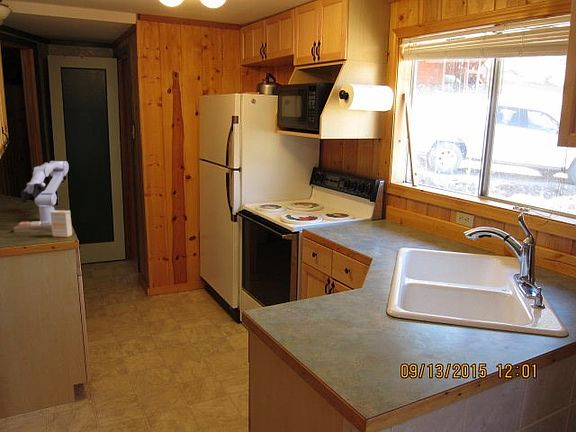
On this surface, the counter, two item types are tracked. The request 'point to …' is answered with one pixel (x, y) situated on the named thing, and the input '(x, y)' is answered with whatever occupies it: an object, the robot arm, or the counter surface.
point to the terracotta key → (24, 224)
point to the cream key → (35, 223)
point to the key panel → (33, 228)
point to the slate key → (46, 223)
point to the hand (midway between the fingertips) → (28, 199)
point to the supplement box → (61, 223)
